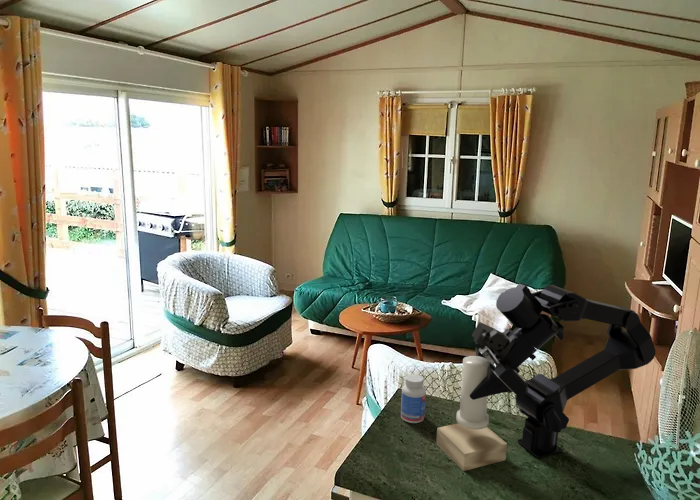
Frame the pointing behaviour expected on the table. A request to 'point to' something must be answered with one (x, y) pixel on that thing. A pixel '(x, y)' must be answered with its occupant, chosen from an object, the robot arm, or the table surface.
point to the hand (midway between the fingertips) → (467, 391)
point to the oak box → (471, 446)
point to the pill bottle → (413, 399)
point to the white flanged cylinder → (472, 376)
